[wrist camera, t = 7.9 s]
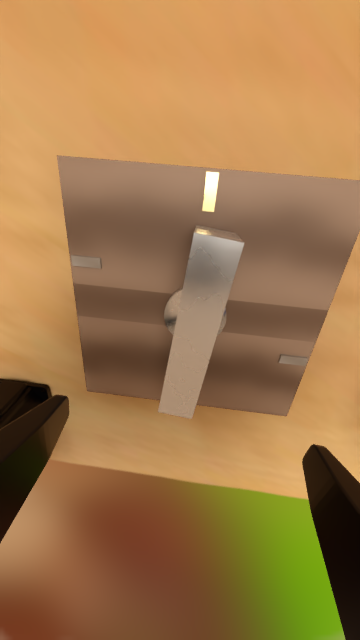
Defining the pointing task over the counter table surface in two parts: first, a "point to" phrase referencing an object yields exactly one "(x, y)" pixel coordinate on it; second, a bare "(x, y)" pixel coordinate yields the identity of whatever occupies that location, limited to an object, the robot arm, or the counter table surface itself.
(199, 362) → the t key
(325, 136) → the counter table surface
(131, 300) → the lock plate
